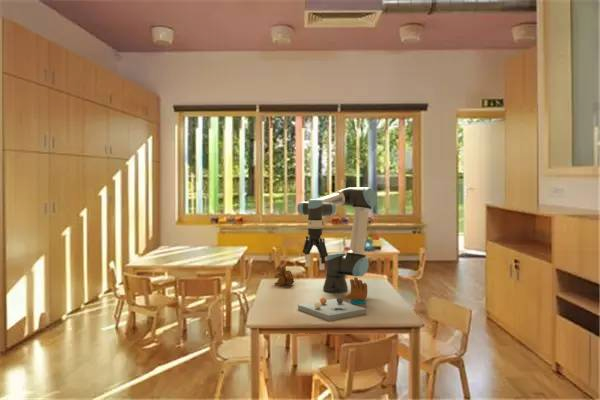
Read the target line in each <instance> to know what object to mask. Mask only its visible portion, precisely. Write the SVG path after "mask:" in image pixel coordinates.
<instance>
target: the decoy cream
mask: <svg viewBox="0 0 600 400" xmlns="http://www.w3.org/2000/svg"><path fill="white" fill-rule="evenodd" d="M315 302H316V303H315V307H316V308H317V309H319V308H320V307H321V303H320V302H318V301H315Z"/></svg>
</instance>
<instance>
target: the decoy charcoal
mask: <svg viewBox="0 0 600 400" xmlns="http://www.w3.org/2000/svg"><path fill="white" fill-rule="evenodd" d="M336 300H337V302H338V303H339V304H341V303H342V302H344V298H343V297H342V296H338V297H336Z"/></svg>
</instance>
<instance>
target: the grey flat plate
mask: <svg viewBox="0 0 600 400" xmlns="http://www.w3.org/2000/svg"><path fill="white" fill-rule="evenodd" d="M326 300H327V302H326V303H325V304H322V303H321V302H320V300H318V301H313V302H307V303H300V304H298V305H297V309H298V310H299V311H300V312H301V311H302V312H304V313H306V314H309V315H312V316H315V317H318V318H320V319H322V320H326V321H328V322H330V321H334V320H335V321H336V320H339V319H345V318H351V317H357V316H360V315H361V316H362V315H366V314H367V308H365V307H362V306H358V305H357V304H352V303H349V302H345V301H343V302H342V303H341V304H339V303H338V302H337V298H331V299H326ZM316 302H320V303H321V307H320V308H319V309H317V308H316V307H315V303H316Z"/></svg>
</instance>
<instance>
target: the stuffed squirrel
mask: <svg viewBox="0 0 600 400" xmlns="http://www.w3.org/2000/svg"><path fill="white" fill-rule="evenodd" d="M287 266H288V265H287V264H282V263H281V264H279V265H278V266H276V269H275V271H276V272H277V273H276V274H274V275H273V276H274V278H275V279H278V280H277V281H276V282H274V284H275V286H280V285H281V286H292V285H294V283H295V279H294V275H293V272H292V271H291V270H288V269H287Z"/></svg>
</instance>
